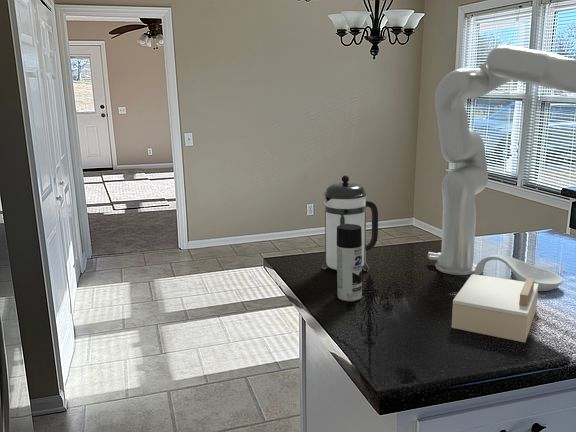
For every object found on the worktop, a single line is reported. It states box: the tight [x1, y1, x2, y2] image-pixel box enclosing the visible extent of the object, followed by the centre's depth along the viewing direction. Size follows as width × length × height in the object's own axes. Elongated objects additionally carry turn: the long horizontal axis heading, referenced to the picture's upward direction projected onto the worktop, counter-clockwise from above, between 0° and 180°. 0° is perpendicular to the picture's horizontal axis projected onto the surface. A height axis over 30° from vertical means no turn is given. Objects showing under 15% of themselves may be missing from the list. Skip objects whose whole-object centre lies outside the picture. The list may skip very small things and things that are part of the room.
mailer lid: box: [452, 274, 539, 317], centre depth 126 cm, size 16×20×3 cm
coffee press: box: [321, 175, 379, 273], centre depth 162 cm, size 17×16×30 cm
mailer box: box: [451, 289, 539, 343], centre depth 127 cm, size 16×20×6 cm
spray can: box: [336, 224, 363, 302], centre depth 141 cm, size 7×7×20 cm
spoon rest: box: [474, 253, 564, 292], centre depth 150 cm, size 24×12×7 cm, turn 46°
